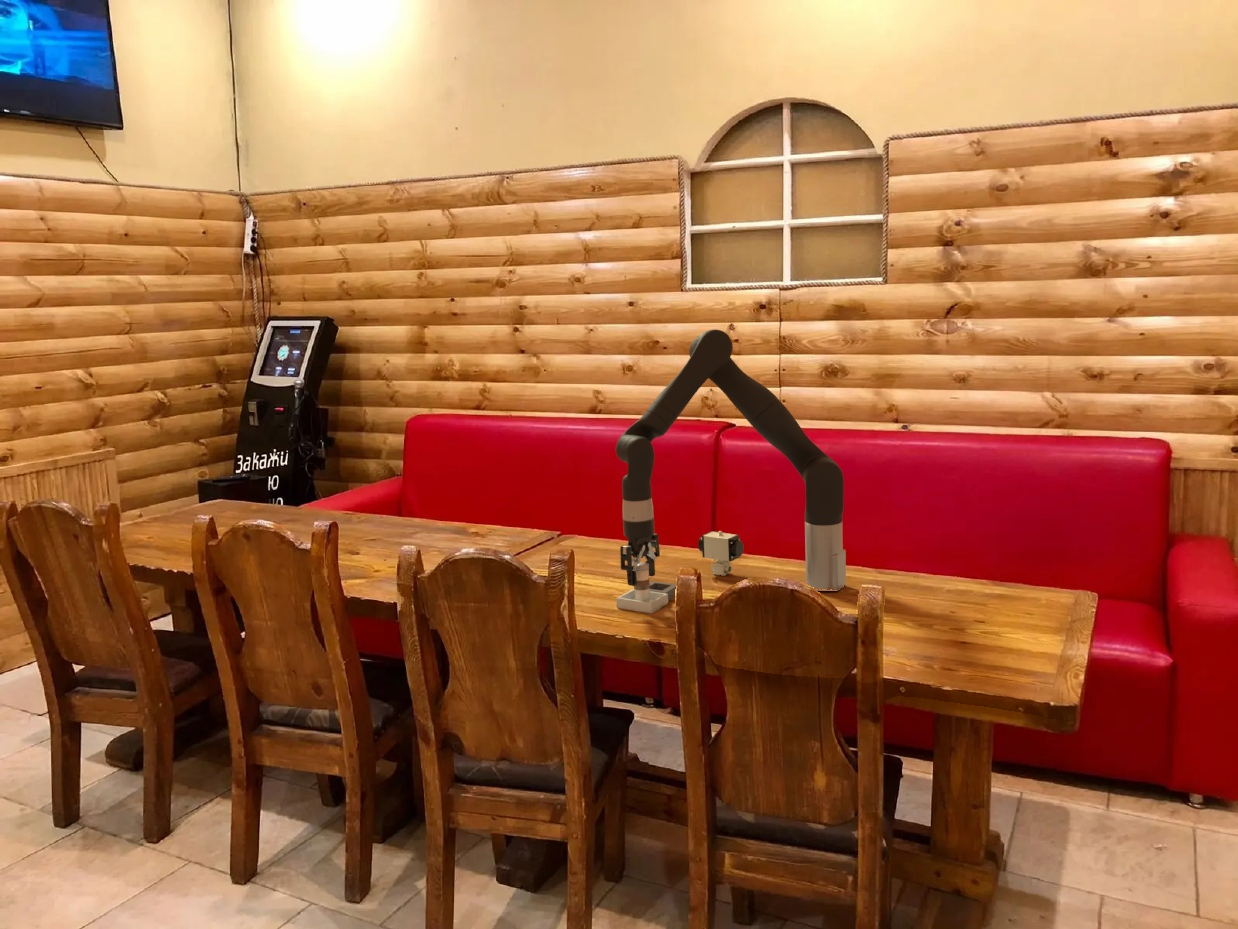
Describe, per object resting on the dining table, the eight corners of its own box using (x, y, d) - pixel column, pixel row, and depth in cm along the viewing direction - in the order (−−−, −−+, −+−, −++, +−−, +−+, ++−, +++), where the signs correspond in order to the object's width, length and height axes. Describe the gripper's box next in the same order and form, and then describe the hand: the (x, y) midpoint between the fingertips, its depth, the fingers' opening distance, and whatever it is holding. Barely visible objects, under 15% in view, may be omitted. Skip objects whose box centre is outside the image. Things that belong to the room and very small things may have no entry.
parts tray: (668, 603, 235) (667, 593, 234) (651, 613, 228) (651, 603, 228) (634, 598, 240) (633, 588, 240) (616, 607, 233) (616, 598, 233)
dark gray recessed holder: (679, 594, 241) (679, 584, 241) (665, 602, 235) (665, 592, 235) (652, 590, 246) (652, 580, 245) (638, 598, 240) (638, 588, 239)
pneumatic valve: (736, 579, 251) (734, 535, 249) (698, 573, 258) (697, 530, 256) (746, 574, 255) (745, 530, 253) (709, 568, 262) (707, 526, 260)
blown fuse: (653, 601, 234) (651, 563, 233) (645, 606, 231) (643, 567, 229) (640, 599, 237) (638, 561, 235) (631, 604, 233) (629, 565, 232)
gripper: (635, 524, 222) (639, 590, 225) (666, 511, 234) (669, 574, 237) (609, 522, 226) (613, 587, 229) (640, 508, 238) (643, 571, 241)
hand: (641, 580), depth 233 cm, fingers open, 8 cm apart
